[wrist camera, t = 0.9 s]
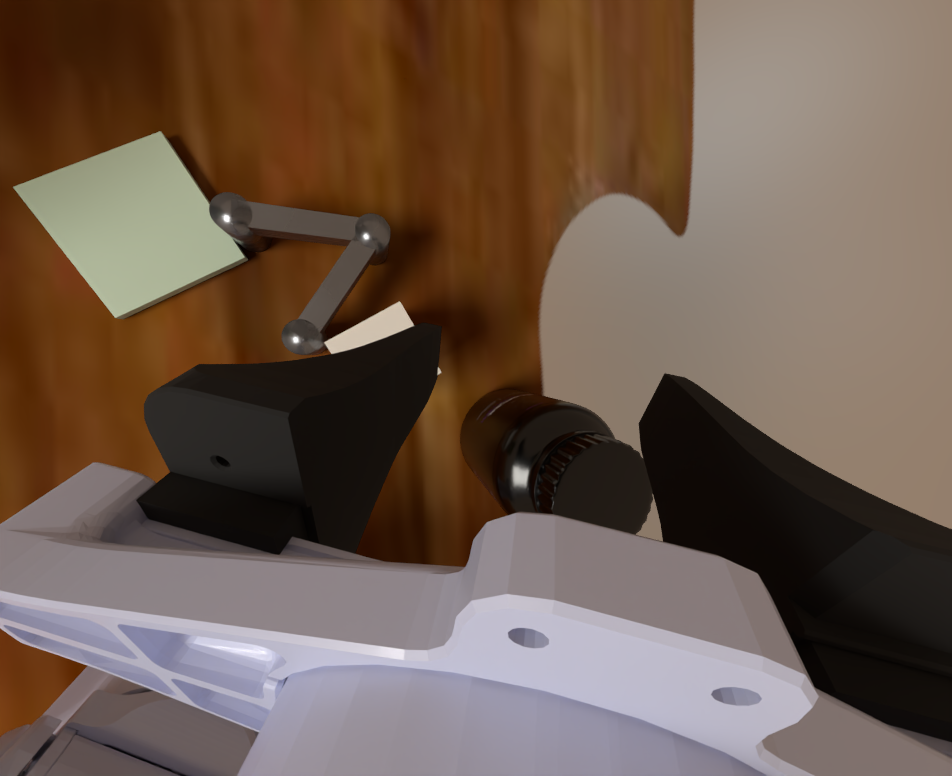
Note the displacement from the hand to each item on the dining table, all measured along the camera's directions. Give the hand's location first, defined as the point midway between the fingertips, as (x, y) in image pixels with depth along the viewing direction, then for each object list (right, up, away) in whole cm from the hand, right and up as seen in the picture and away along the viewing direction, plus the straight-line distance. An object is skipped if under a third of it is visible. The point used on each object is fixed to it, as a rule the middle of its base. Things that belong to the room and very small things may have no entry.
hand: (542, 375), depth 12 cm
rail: (-11, +7, +10) cm, 16 cm away
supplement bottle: (0, -4, +14) cm, 15 cm away
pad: (-20, +8, +7) cm, 23 cm away
